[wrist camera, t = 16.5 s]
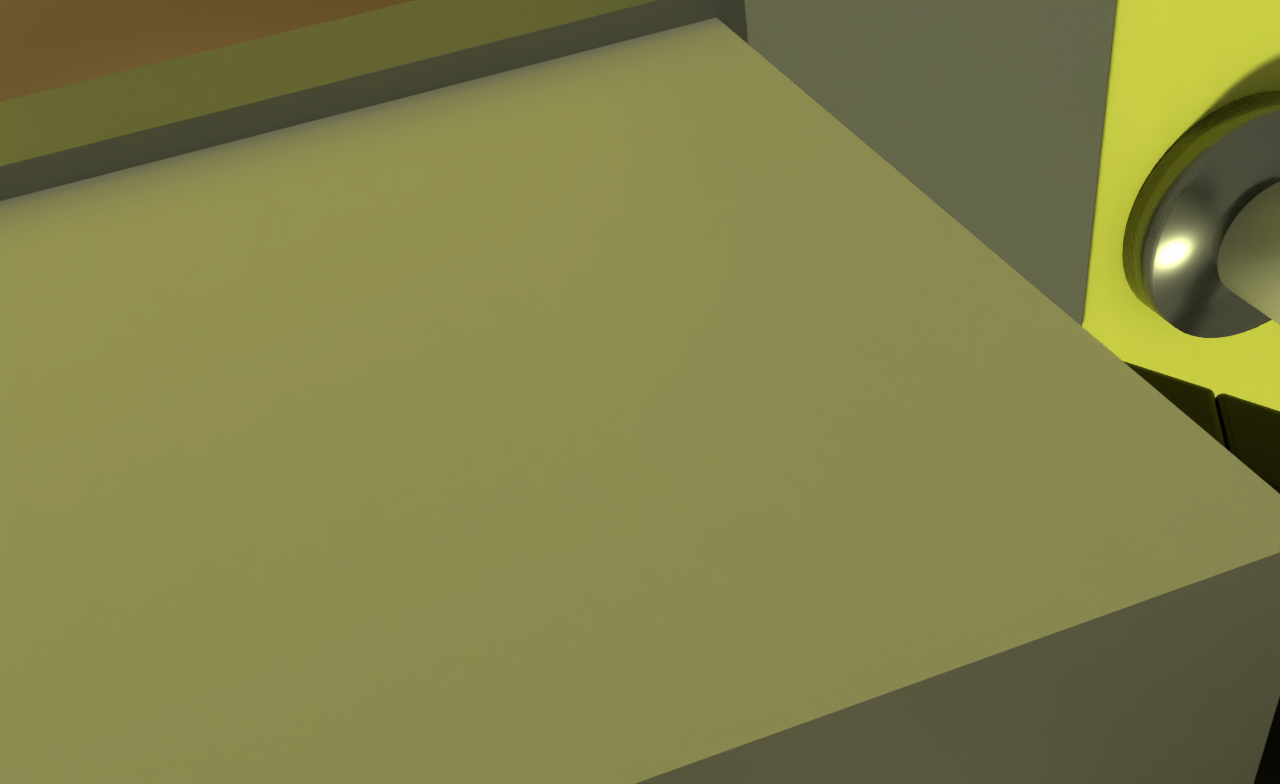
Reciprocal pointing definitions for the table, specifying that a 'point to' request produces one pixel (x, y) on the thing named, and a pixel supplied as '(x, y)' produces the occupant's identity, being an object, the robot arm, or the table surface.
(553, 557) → the beige tall block
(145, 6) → the walnut pad
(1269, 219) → the bar
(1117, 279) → the table surface
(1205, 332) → the clip base
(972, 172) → the socket plate
